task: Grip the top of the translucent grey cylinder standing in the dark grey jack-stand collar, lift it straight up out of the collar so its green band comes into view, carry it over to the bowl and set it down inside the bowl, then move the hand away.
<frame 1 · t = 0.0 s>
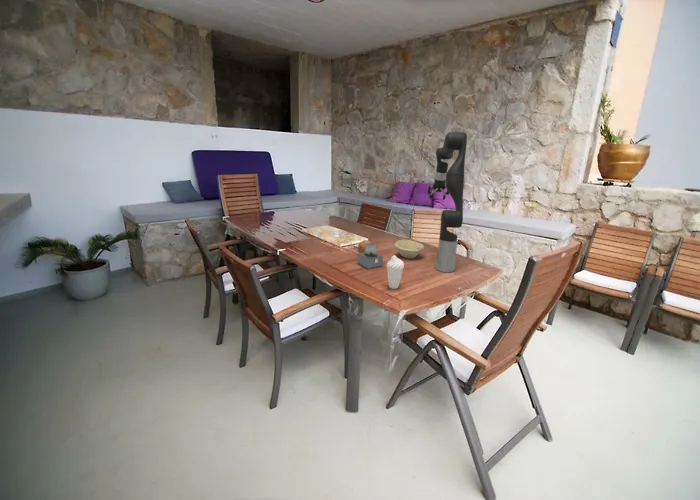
hand: (437, 199, 222), 31 cm above the table, tool tilted 20°, fingers open, 8 cm apart
bowl: (408, 257, 198), on the table
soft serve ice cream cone: (393, 287, 152), on the table
stand: (369, 266, 179), on the table
translucent grey cylinder: (369, 264, 179), point 1 cm above the table, touching stand
onion: (365, 256, 198), on the table
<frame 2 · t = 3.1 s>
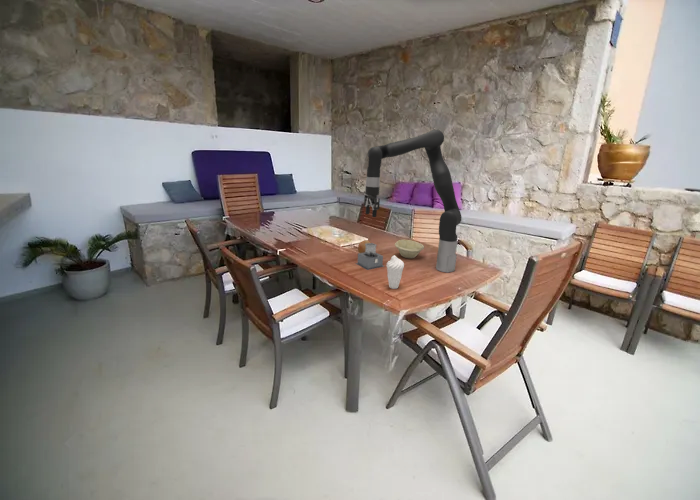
hand: (370, 215, 176), 28 cm above the table, tool pointing down, fingers open, 8 cm apart
nothing on the table moved.
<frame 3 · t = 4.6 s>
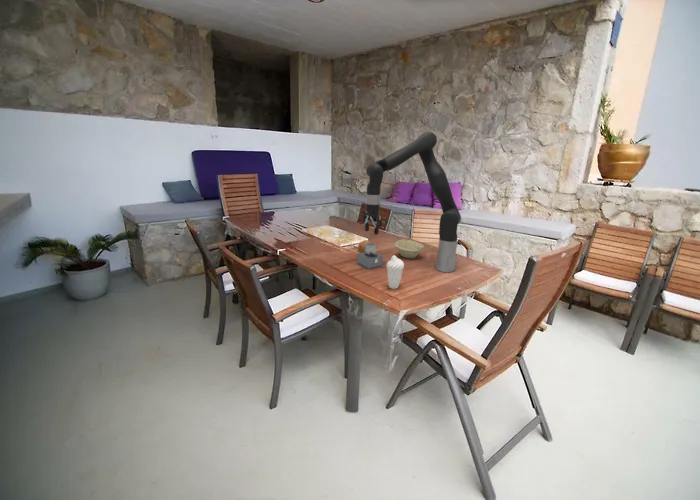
hand: (371, 232, 174), 20 cm above the table, tool pointing down, fingers open, 8 cm apart
nothing on the table moved.
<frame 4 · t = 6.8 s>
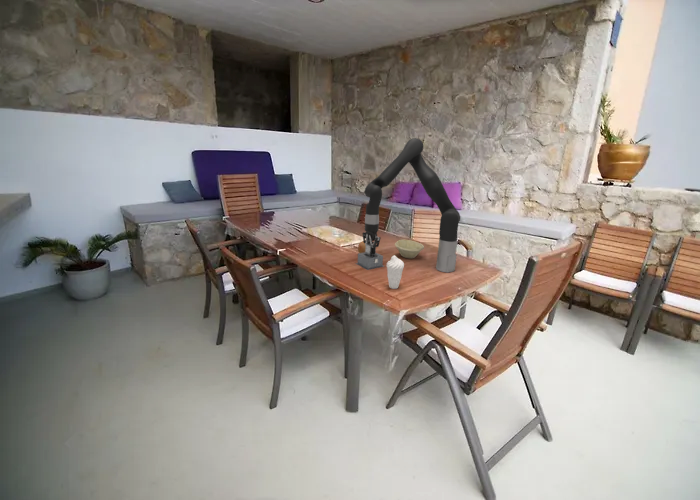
hand: (370, 252, 177), 8 cm above the table, tool pointing down, fingers closed on translucent grey cylinder, 4 cm apart
translucent grey cylinder: (369, 264, 179), point 1 cm above the table, touching gripper, stand
everything else where it was.
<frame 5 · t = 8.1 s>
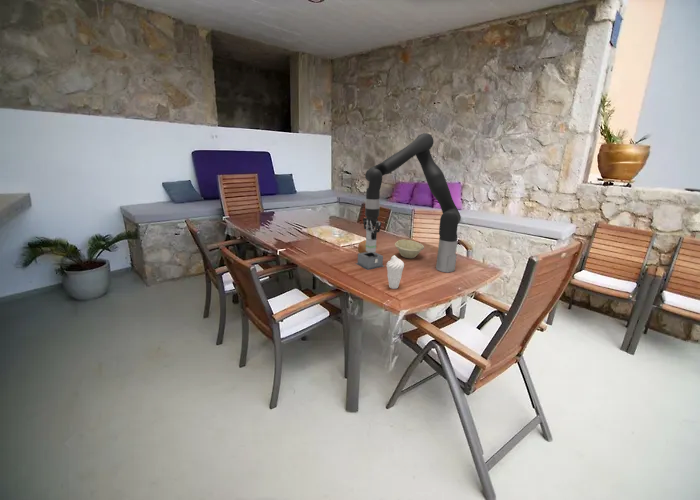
hand: (371, 238, 174), 16 cm above the table, tool pointing down, fingers closed on translucent grey cylinder, 4 cm apart
translucent grey cylinder: (370, 251, 176), point 9 cm above the table, touching gripper
everything else where it was.
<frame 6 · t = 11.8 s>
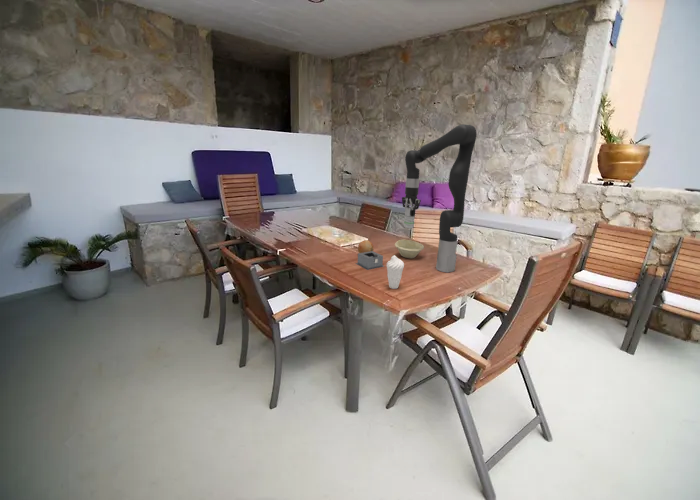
hand: (409, 215, 190), 26 cm above the table, tool pointing down, fingers closed on translucent grey cylinder, 4 cm apart
translucent grey cylinder: (408, 227, 192), point 19 cm above the table, touching gripper
everything else where it was.
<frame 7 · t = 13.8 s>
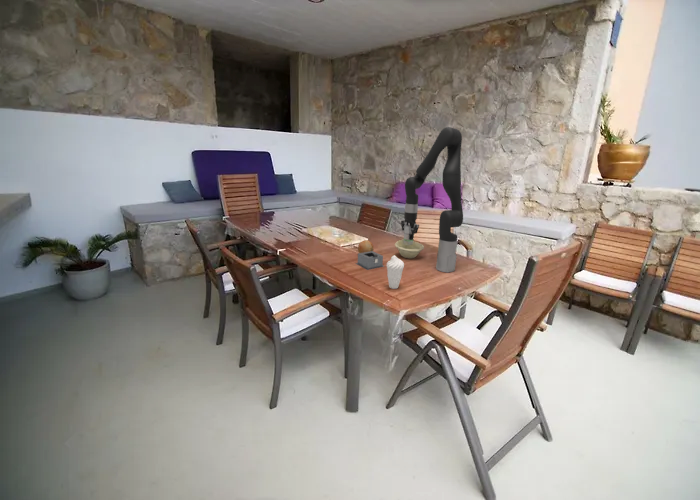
hand: (408, 238, 195), 12 cm above the table, tool pointing down, fingers closed on translucent grey cylinder, 4 cm apart
bowl: (408, 257, 199), on the table, touching translucent grey cylinder
translucent grey cylinder: (408, 244, 196), point 8 cm above the table, touching bowl, gripper
everything else where it was.
when the fingers open (10 cm above the table, at t = 14.9 s): translucent grey cylinder stays where it is, resting on bowl.
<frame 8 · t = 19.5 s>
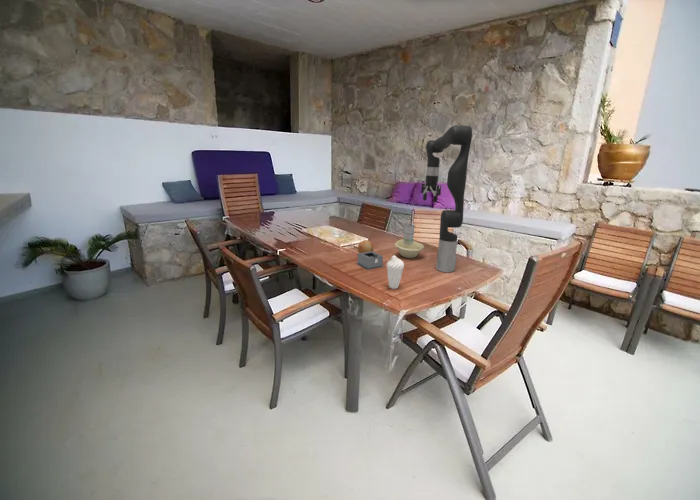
hand: (429, 201, 200), 33 cm above the table, tool pointing down, fingers open, 8 cm apart
translucent grey cylinder: (408, 244, 196), point 8 cm above the table, touching bowl
everything else where it was.
at the end: translucent grey cylinder 1.2 cm from the bowl (horizontally); translucent grey cylinder point 8.1 cm above the table; the gripper is holding nothing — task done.
